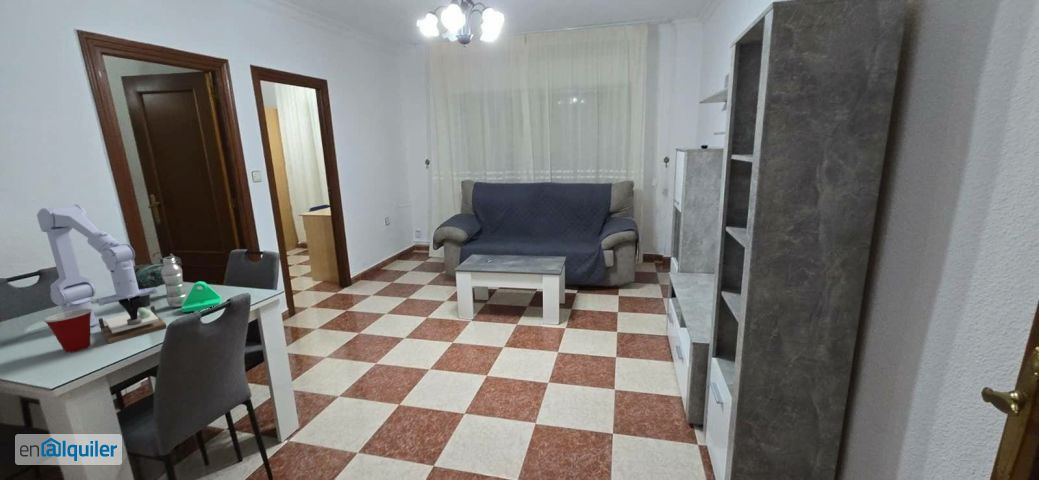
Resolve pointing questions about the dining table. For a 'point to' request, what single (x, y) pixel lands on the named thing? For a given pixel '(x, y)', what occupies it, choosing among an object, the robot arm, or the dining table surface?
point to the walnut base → (131, 330)
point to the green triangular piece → (201, 298)
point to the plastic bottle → (173, 282)
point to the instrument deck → (123, 322)
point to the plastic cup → (71, 328)
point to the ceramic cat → (151, 277)
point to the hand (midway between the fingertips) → (134, 318)
